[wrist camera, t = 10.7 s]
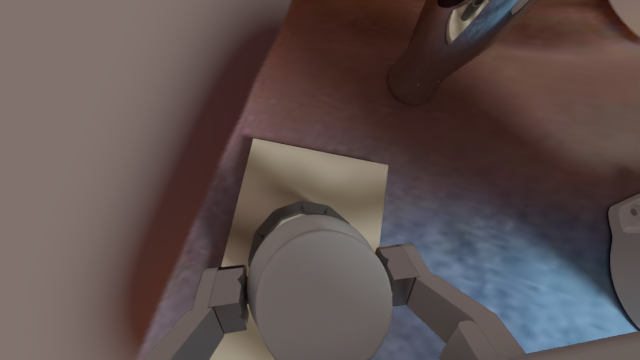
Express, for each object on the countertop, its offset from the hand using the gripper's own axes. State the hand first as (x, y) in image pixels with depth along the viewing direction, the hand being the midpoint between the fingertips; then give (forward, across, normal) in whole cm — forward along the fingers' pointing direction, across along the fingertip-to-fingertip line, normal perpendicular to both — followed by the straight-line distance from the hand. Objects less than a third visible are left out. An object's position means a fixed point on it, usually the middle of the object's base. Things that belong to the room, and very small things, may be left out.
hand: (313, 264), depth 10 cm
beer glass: (+22, -15, -2) cm, 27 cm away
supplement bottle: (+4, 0, +5) cm, 7 cm away
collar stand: (+10, 0, +10) cm, 14 cm away
